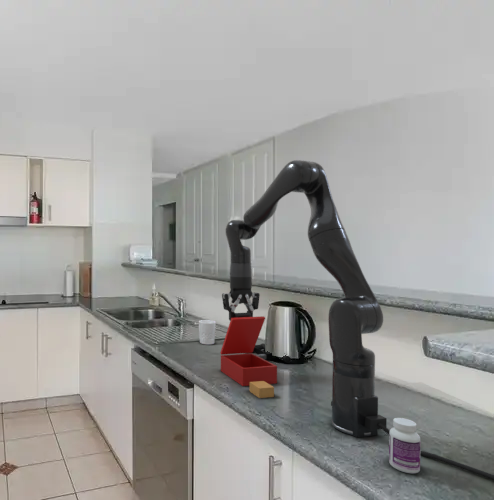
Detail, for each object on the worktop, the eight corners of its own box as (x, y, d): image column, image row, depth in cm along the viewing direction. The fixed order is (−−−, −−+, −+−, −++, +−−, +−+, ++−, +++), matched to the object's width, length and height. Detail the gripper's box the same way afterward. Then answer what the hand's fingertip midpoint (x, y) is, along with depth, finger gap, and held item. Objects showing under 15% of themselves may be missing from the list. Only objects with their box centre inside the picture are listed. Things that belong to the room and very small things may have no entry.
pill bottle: (427, 474, 80) (427, 427, 80) (402, 475, 80) (402, 428, 80) (406, 459, 86) (407, 415, 85) (382, 460, 85) (383, 416, 85)
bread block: (274, 396, 120) (274, 387, 120) (259, 398, 119) (259, 388, 119) (263, 390, 125) (263, 380, 125) (249, 391, 124) (249, 381, 124)
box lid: (265, 318, 138) (258, 308, 142) (232, 319, 135) (226, 309, 140) (252, 352, 146) (246, 342, 151) (221, 354, 143) (215, 344, 148)
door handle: (255, 359, 150) (293, 355, 152) (232, 345, 170) (266, 342, 172) (255, 368, 150) (294, 363, 152) (232, 353, 170) (267, 349, 172)
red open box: (277, 383, 131) (277, 366, 131) (242, 386, 129) (242, 368, 129) (251, 368, 147) (251, 353, 147) (220, 370, 144) (220, 355, 144)
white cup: (205, 339, 190) (205, 319, 189) (219, 343, 183) (219, 321, 183) (194, 342, 184) (195, 321, 184) (208, 346, 178) (208, 324, 178)
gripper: (227, 276, 137) (227, 324, 137) (264, 275, 140) (264, 322, 140) (217, 275, 144) (217, 320, 144) (253, 274, 147) (253, 319, 147)
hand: (241, 321), depth 142 cm, fingers closed on box lid, 6 cm apart
